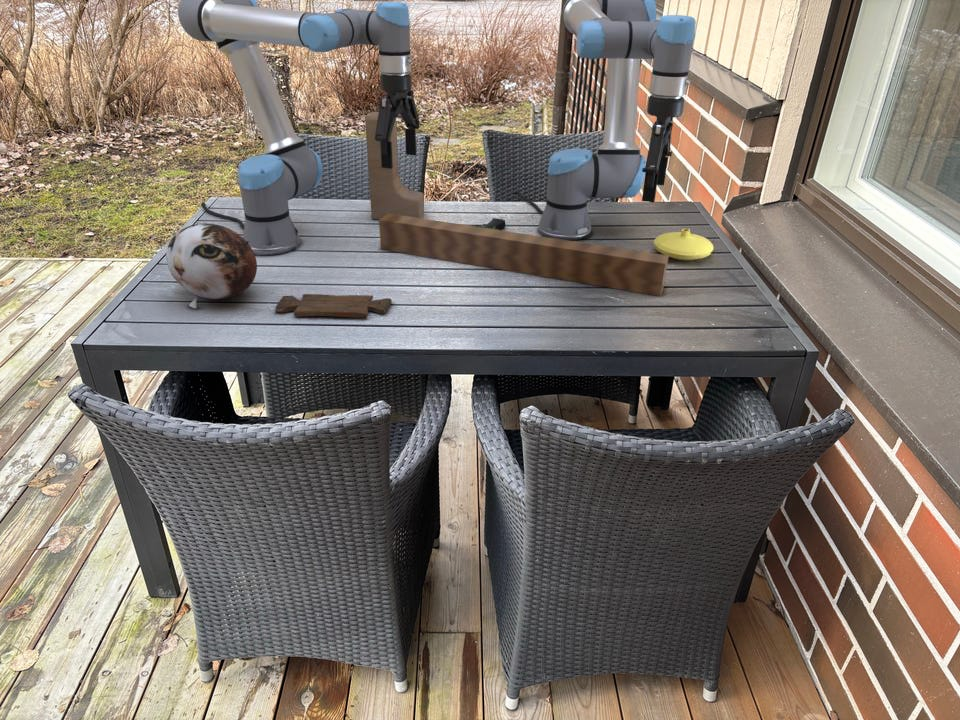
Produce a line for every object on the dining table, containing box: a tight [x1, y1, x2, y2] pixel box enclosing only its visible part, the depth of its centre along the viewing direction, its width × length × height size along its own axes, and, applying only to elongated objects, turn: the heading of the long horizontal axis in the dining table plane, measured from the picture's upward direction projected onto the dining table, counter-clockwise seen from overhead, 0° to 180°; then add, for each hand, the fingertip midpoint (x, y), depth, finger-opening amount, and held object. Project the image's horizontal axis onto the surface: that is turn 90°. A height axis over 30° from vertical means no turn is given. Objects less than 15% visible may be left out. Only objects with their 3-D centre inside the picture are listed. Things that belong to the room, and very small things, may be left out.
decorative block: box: [364, 111, 425, 220], centre depth 210 cm, size 8×15×30 cm, turn 82°
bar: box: [378, 214, 670, 297], centre depth 184 cm, size 76×6×8 cm, turn 69°
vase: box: [653, 228, 715, 261], centre depth 193 cm, size 16×16×7 cm
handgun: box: [471, 217, 506, 231], centre depth 207 cm, size 16×3×15 cm
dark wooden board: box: [275, 293, 392, 318], centre depth 164 cm, size 26×2×10 cm
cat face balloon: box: [165, 222, 258, 309], centre depth 165 cm, size 22×18×20 cm
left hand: (399, 161), depth 184 cm, fingers open, 13 cm apart
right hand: (653, 192), depth 164 cm, fingers open, 13 cm apart
